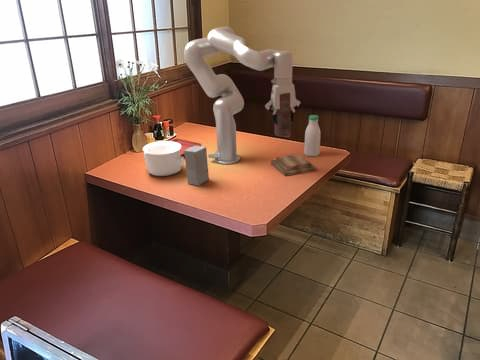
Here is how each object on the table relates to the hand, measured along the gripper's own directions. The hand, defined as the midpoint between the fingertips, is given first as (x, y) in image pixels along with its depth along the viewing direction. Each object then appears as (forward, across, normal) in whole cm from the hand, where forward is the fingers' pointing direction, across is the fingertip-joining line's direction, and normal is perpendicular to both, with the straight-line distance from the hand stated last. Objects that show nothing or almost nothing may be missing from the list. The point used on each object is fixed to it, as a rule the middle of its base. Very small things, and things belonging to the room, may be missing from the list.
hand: (282, 121), depth 183 cm
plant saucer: (+24, -41, +44) cm, 65 cm away
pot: (+24, -52, +19) cm, 60 cm away
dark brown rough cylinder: (+7, 0, 0) cm, 7 cm away
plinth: (+24, +7, +2) cm, 25 cm away
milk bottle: (+24, +22, +14) cm, 36 cm away
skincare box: (+24, -39, +3) cm, 46 cm away
